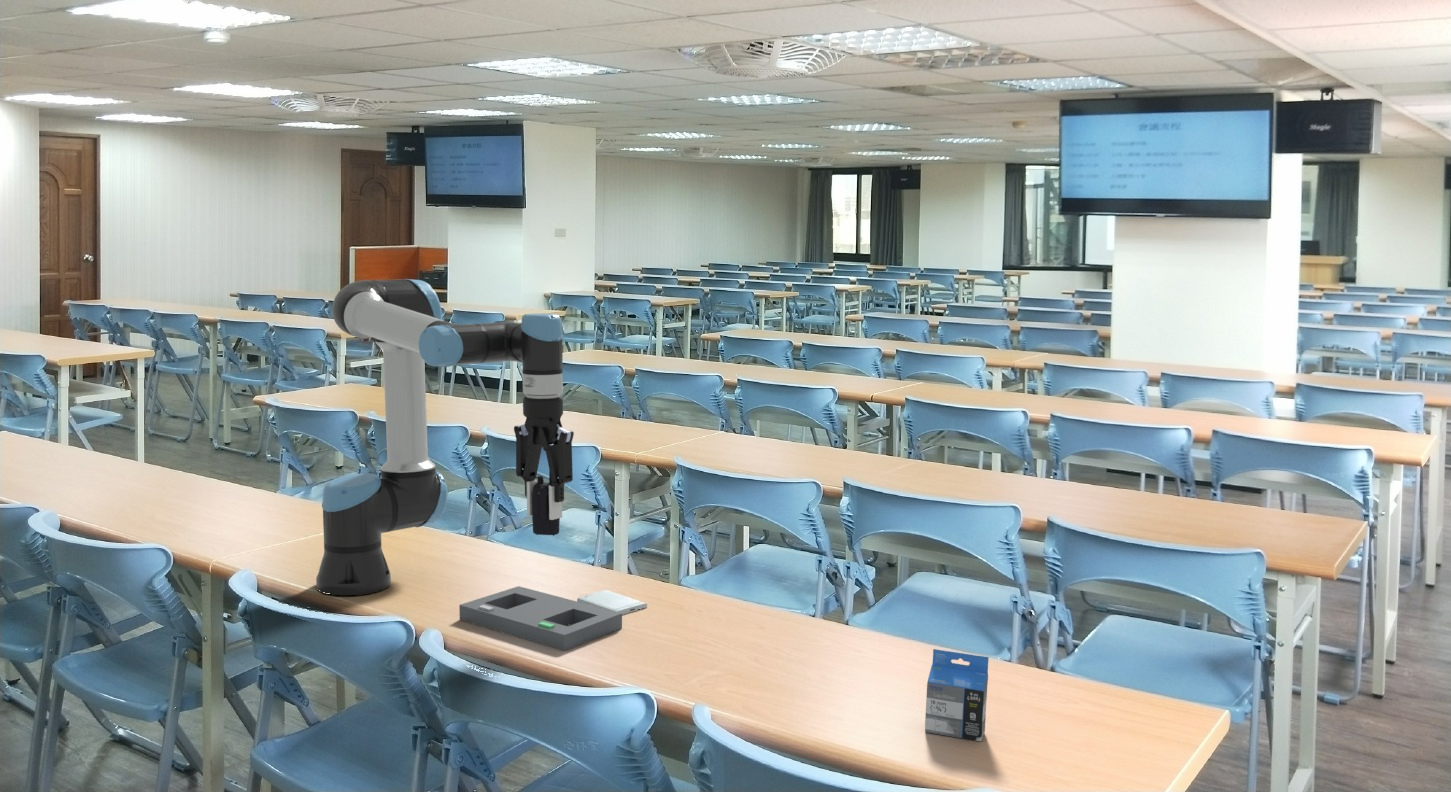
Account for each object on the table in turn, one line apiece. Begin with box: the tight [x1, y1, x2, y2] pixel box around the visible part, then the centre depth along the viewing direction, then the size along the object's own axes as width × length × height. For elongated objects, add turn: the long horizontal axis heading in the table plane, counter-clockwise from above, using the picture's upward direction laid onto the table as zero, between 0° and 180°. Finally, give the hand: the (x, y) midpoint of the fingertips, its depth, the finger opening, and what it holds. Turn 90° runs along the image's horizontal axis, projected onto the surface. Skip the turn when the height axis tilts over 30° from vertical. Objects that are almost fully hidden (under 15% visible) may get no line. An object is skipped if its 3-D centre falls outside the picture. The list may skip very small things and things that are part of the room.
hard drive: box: [576, 589, 648, 615], centre depth 246 cm, size 2×8×12 cm
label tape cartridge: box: [924, 648, 989, 742], centre depth 185 cm, size 9×4×12 cm, turn 69°
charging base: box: [459, 585, 623, 652], centre depth 233 cm, size 28×16×3 cm, turn 54°
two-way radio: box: [531, 470, 561, 537], centre depth 228 cm, size 6×4×15 cm
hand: (544, 516), depth 229 cm, fingers closed on two-way radio, 5 cm apart
